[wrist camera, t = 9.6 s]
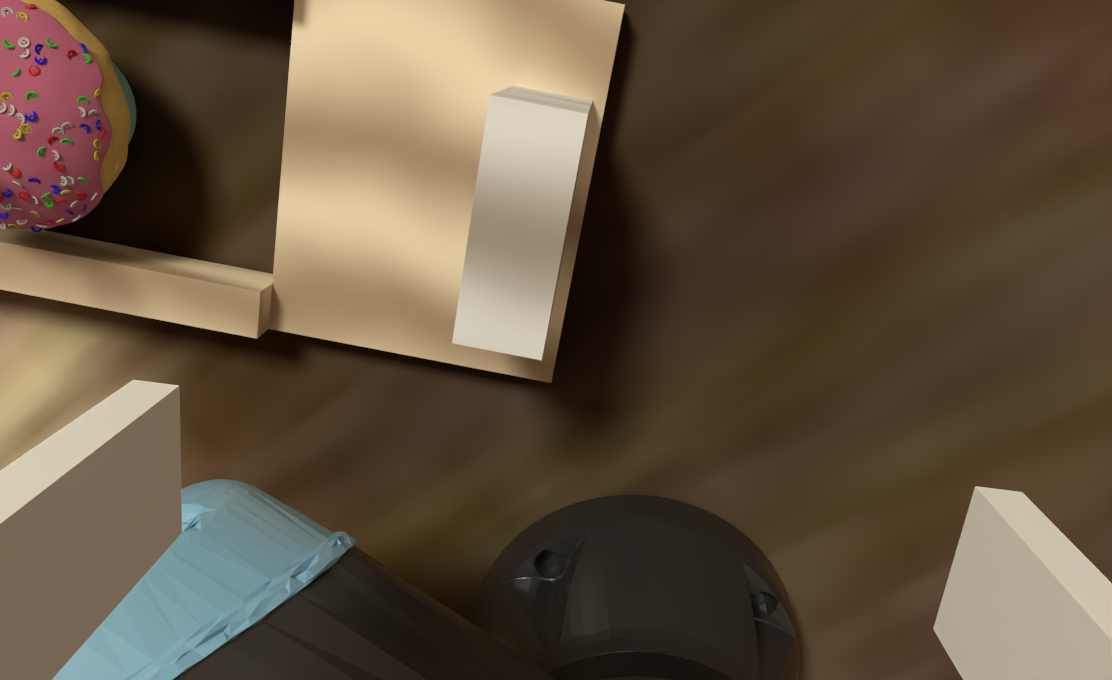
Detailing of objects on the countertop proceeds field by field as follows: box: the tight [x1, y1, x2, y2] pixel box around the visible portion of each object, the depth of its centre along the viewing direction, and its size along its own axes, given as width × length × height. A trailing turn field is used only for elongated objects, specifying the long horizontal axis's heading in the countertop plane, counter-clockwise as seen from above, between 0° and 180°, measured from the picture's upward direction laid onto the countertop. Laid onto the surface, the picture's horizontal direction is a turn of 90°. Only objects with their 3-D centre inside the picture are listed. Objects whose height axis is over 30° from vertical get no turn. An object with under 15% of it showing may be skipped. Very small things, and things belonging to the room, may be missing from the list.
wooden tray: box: [0, 0, 625, 383], centre depth 31 cm, size 15×26×8 cm, turn 80°
